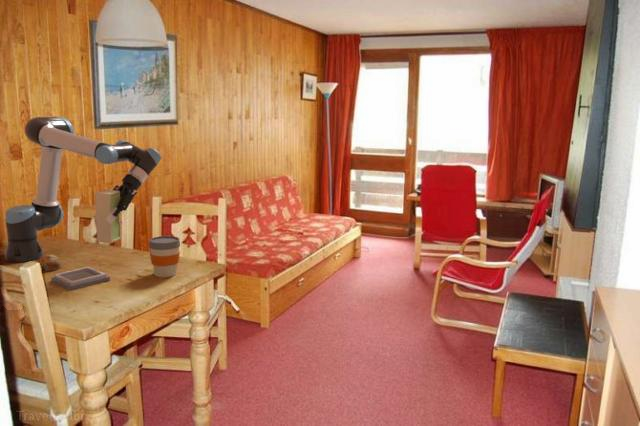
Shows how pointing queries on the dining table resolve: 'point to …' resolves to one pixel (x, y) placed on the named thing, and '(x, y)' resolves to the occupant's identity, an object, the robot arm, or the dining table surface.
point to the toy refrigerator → (104, 207)
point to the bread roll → (49, 263)
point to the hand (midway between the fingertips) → (101, 220)
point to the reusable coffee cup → (164, 255)
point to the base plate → (79, 278)
